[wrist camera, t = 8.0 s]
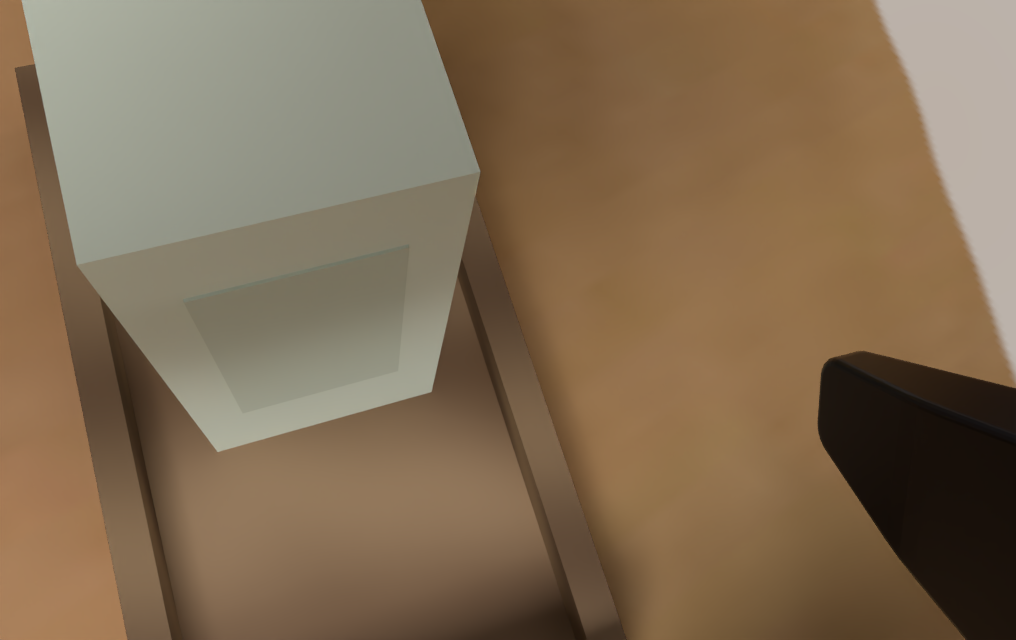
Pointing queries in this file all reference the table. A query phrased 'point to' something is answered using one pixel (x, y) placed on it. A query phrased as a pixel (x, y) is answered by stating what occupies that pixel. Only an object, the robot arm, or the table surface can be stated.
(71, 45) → the pale green recessed block
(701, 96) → the table surface
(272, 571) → the wooden tray
